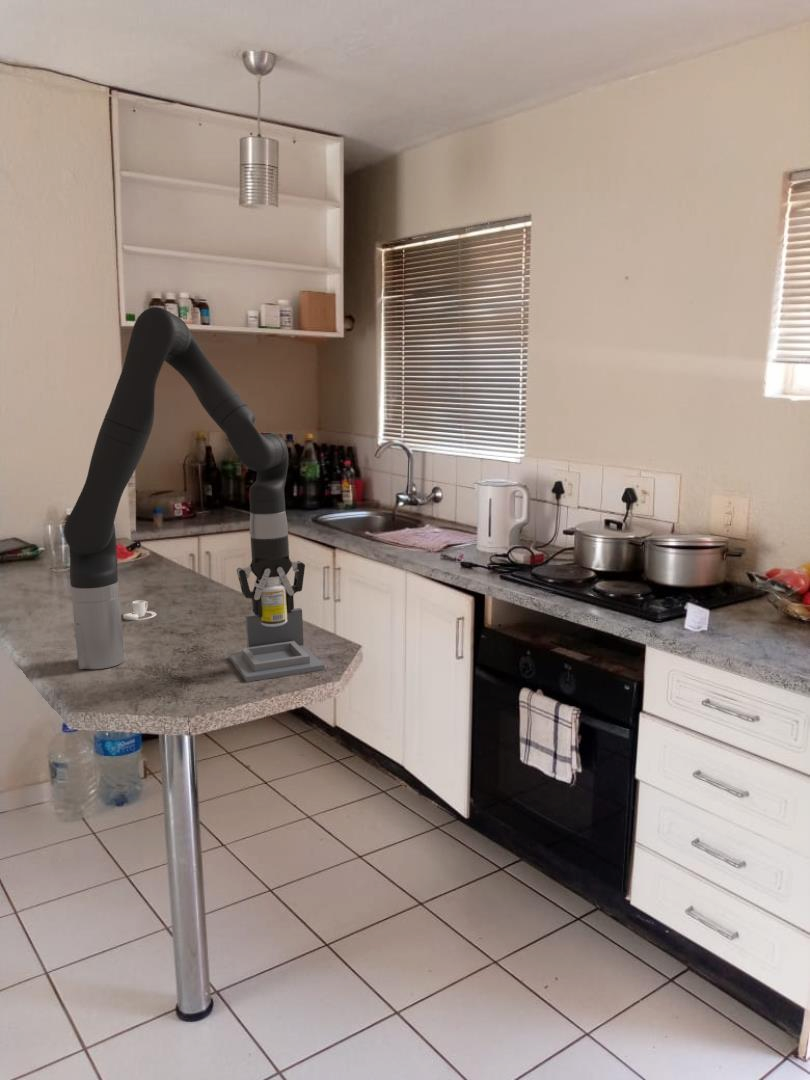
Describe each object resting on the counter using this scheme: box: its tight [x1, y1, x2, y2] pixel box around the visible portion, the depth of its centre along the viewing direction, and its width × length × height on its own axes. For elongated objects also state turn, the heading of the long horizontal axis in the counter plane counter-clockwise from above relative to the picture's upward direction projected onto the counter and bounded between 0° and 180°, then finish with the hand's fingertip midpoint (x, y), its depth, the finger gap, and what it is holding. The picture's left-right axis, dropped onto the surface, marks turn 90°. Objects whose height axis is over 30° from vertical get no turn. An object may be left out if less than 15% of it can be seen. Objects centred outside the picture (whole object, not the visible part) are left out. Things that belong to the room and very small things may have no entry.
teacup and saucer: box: [122, 599, 157, 621], centre depth 212 cm, size 9×8×4 cm
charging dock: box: [228, 607, 325, 683], centre depth 174 cm, size 16×16×9 cm
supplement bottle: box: [260, 576, 288, 627], centre depth 172 cm, size 6×6×10 cm
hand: (273, 614), depth 173 cm, fingers closed on supplement bottle, 5 cm apart
